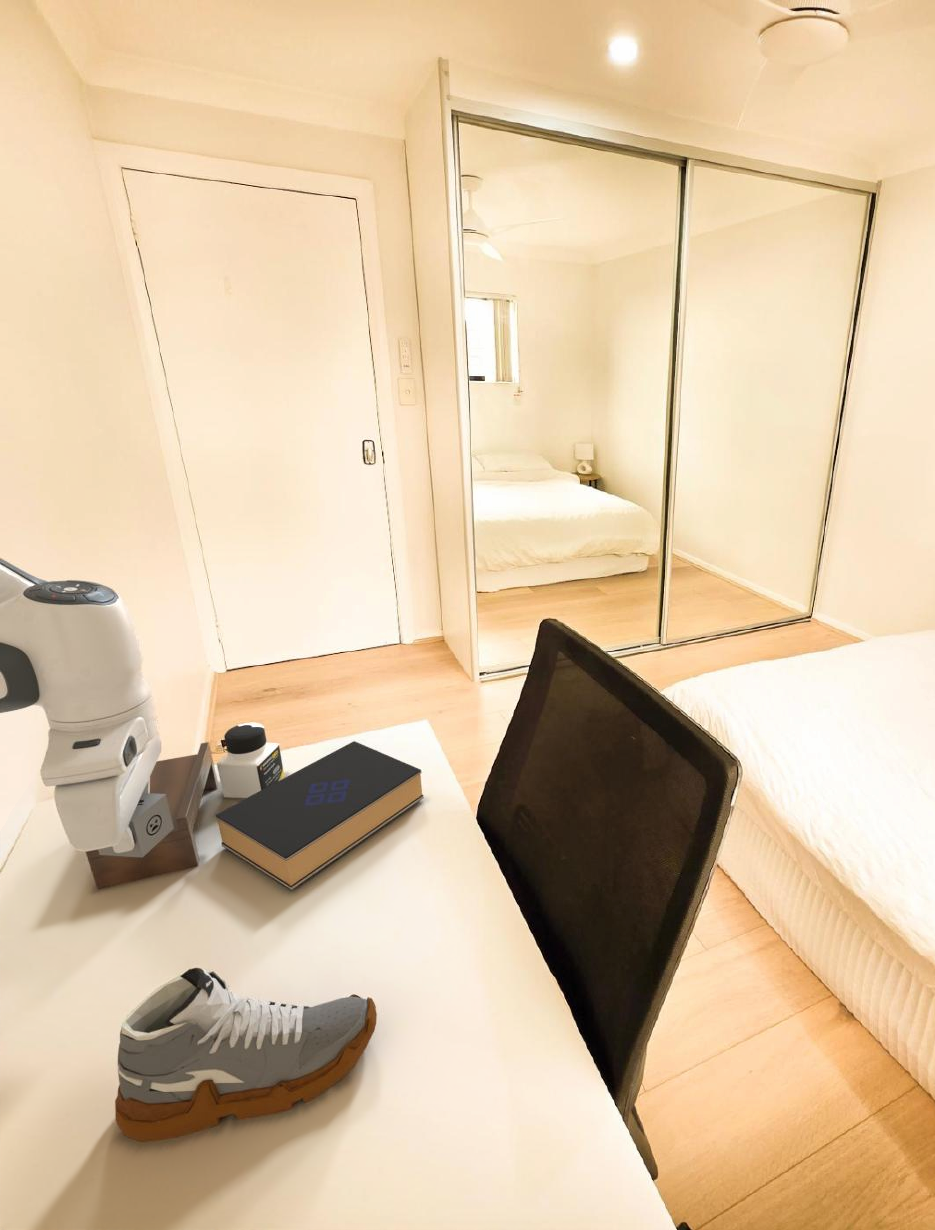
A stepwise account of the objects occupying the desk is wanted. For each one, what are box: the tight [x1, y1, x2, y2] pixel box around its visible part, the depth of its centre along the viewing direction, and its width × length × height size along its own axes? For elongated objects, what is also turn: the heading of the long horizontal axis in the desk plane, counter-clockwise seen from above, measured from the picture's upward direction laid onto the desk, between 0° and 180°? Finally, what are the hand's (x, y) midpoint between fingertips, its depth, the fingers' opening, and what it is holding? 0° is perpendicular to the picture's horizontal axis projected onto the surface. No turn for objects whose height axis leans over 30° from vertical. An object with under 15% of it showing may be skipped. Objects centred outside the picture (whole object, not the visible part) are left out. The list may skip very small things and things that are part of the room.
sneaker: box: [114, 967, 378, 1143], centre depth 61 cm, size 9×24×15 cm, turn 107°
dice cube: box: [98, 793, 174, 858], centre depth 71 cm, size 5×5×5 cm
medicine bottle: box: [216, 722, 285, 799], centre depth 107 cm, size 7×7×12 cm
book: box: [214, 740, 425, 891], centre depth 99 cm, size 17×25×7 cm
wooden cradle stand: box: [85, 741, 219, 891], centre depth 96 cm, size 12×22×9 cm, turn 25°
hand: (134, 829), depth 71 cm, fingers closed on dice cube, 5 cm apart
